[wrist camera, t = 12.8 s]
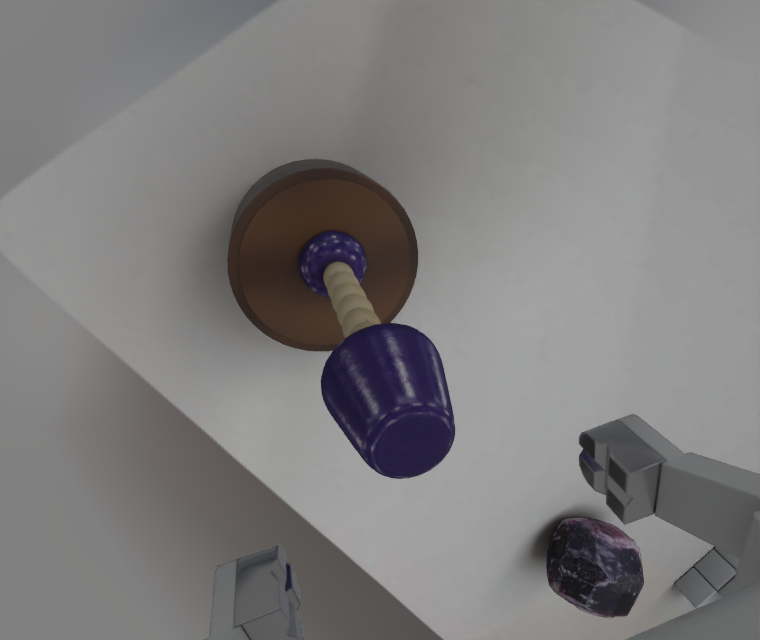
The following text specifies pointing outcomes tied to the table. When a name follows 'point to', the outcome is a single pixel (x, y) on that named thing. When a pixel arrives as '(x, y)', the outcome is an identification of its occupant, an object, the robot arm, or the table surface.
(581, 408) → the table surface
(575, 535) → the mineral specimen
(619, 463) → the robot arm
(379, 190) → the wooden drum
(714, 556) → the grey stepped block
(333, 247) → the toy lamp
